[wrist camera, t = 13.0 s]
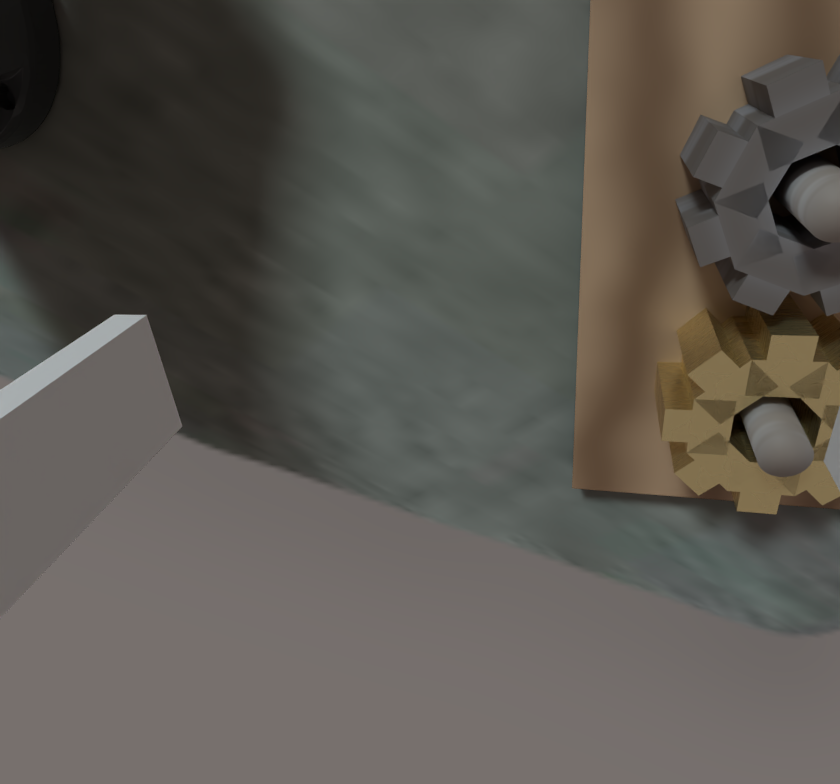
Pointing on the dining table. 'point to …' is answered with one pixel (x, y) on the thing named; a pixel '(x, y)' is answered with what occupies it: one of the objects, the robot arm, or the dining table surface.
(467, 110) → the dining table surface
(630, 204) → the gear board
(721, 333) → the brass gear
